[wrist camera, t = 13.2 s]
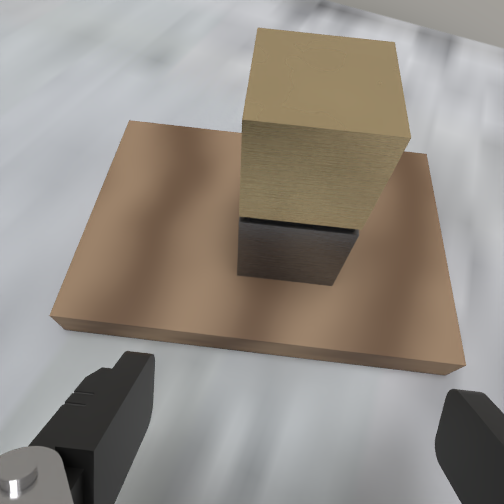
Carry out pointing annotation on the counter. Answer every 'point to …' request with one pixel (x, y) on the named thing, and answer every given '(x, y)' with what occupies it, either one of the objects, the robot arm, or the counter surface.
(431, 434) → the counter surface
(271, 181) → the block
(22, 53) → the counter surface
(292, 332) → the stand
